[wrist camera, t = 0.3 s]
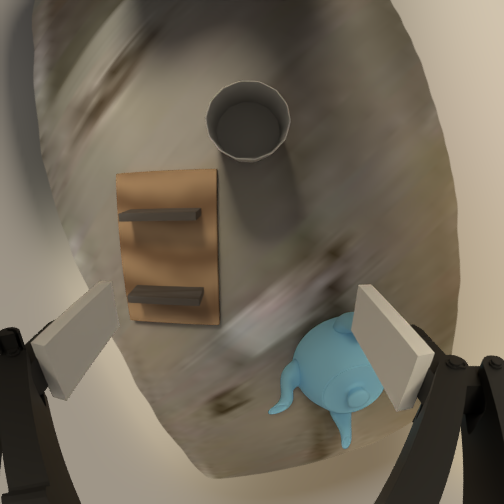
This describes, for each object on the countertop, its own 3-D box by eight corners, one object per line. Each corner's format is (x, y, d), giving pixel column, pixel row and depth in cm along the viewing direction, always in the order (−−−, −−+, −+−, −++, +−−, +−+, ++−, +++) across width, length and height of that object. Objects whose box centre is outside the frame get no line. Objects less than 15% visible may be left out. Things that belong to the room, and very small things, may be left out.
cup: (265, 93, 35) (270, 69, 25) (290, 148, 37) (304, 141, 27) (206, 117, 36) (192, 100, 26) (230, 172, 38) (224, 173, 28)
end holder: (119, 173, 37) (103, 175, 32) (217, 169, 37) (212, 168, 32) (133, 316, 43) (121, 332, 38) (219, 320, 43) (216, 339, 38)
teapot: (260, 363, 46) (263, 417, 34) (339, 279, 42) (369, 319, 30) (331, 402, 49) (346, 450, 37) (403, 333, 45) (436, 374, 33)
